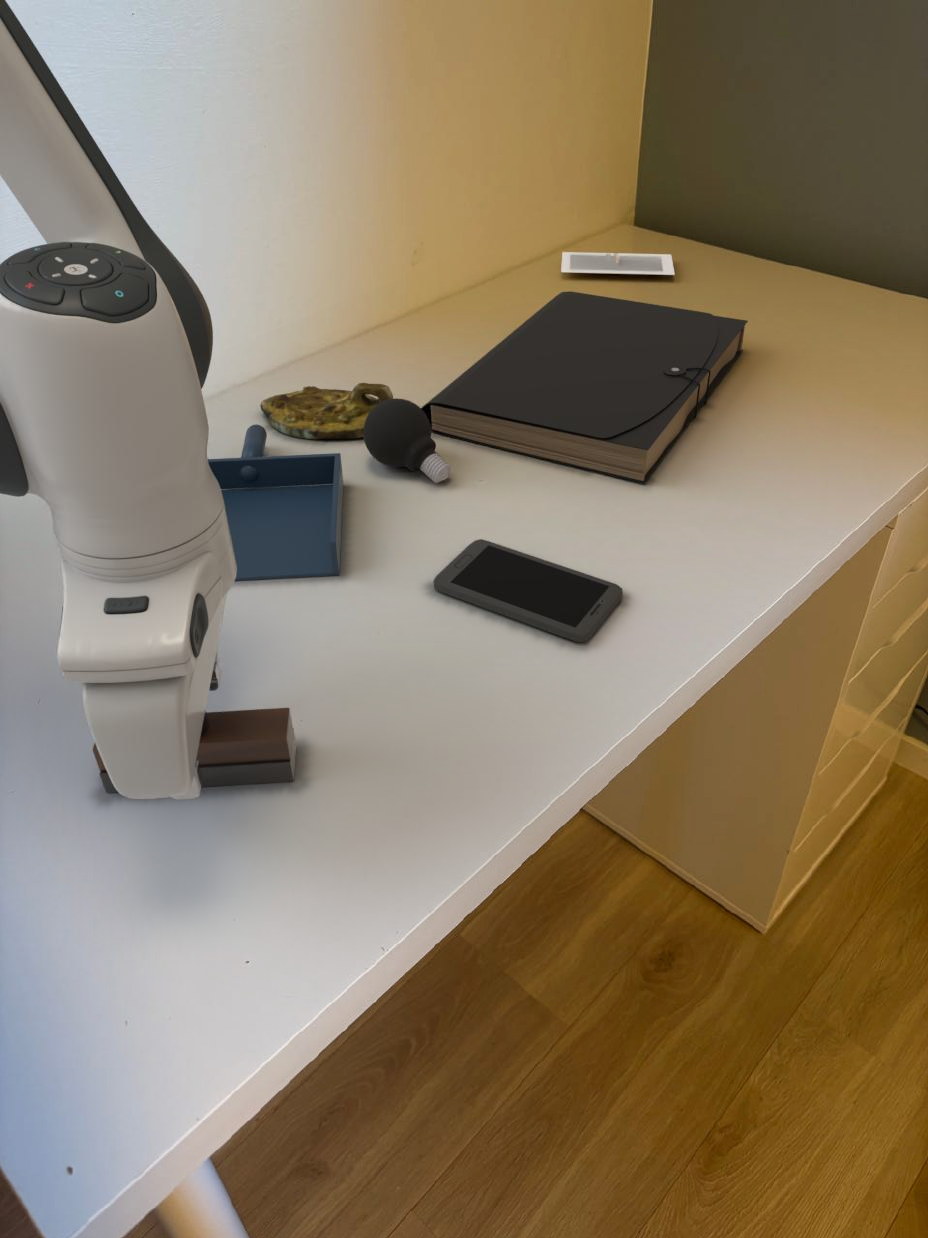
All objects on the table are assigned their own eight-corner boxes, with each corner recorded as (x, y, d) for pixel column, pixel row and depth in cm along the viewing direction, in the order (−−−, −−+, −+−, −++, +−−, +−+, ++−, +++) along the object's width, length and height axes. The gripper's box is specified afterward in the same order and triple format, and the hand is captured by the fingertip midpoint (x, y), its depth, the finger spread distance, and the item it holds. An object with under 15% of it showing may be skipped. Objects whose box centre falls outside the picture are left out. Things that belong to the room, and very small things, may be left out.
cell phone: (476, 543, 85) (476, 536, 84) (626, 594, 79) (627, 586, 79) (429, 588, 80) (429, 580, 80) (585, 645, 74) (585, 638, 74)
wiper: (293, 781, 64) (282, 717, 61) (105, 793, 64) (83, 729, 60) (296, 745, 67) (285, 682, 63) (116, 756, 66) (94, 693, 63)
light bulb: (439, 459, 88) (363, 390, 91) (412, 512, 92) (340, 445, 95) (481, 444, 93) (408, 379, 95) (454, 495, 97) (384, 431, 99)
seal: (248, 444, 101) (392, 452, 99) (239, 404, 98) (387, 412, 96) (274, 394, 108) (409, 400, 106) (266, 355, 104) (406, 361, 102)
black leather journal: (650, 446, 90) (419, 395, 99) (646, 485, 92) (421, 433, 101) (750, 317, 112) (554, 286, 121) (744, 352, 115) (553, 318, 124)
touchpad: (673, 282, 132) (675, 266, 131) (560, 280, 133) (561, 263, 132) (670, 262, 138) (672, 246, 137) (562, 259, 139) (562, 244, 138)
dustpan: (339, 575, 82) (335, 542, 80) (130, 586, 81) (121, 552, 79) (345, 442, 99) (342, 412, 97) (173, 450, 99) (167, 419, 96)
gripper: (129, 464, 63) (173, 633, 71) (46, 683, 47) (116, 866, 55) (230, 459, 63) (262, 628, 72) (182, 674, 47) (231, 858, 56)
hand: (198, 734), depth 63 cm, fingers open, 8 cm apart
